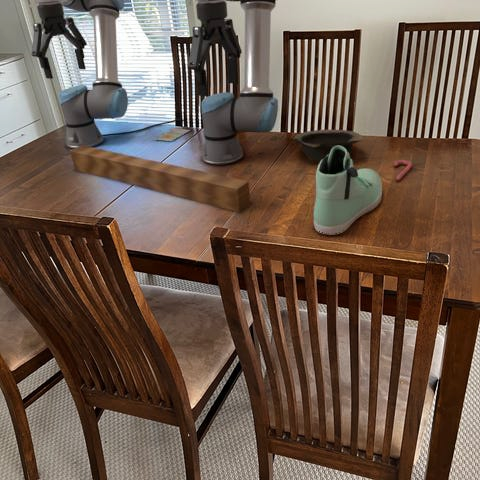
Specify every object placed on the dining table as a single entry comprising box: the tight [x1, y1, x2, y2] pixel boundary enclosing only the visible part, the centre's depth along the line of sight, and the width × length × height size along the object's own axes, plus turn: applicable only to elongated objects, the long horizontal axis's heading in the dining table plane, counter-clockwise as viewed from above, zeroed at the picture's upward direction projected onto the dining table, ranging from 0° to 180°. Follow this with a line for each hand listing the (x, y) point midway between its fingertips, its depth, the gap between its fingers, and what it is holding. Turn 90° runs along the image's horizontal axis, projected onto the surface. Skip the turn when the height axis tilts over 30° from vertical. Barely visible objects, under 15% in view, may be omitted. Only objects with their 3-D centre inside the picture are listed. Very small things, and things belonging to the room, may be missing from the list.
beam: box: [69, 145, 251, 213], centre depth 161 cm, size 75×6×8 cm, turn 56°
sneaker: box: [313, 146, 383, 236], centre depth 133 cm, size 14×35×20 cm, turn 152°
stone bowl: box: [292, 129, 365, 164], centre depth 172 cm, size 25×25×9 cm
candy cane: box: [393, 159, 413, 182], centre depth 157 cm, size 6×15×2 cm, turn 145°
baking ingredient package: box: [154, 127, 191, 142], centre depth 205 cm, size 9×1×15 cm
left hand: (66, 73), depth 161 cm, fingers open, 13 cm apart
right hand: (219, 89), depth 128 cm, fingers open, 13 cm apart
